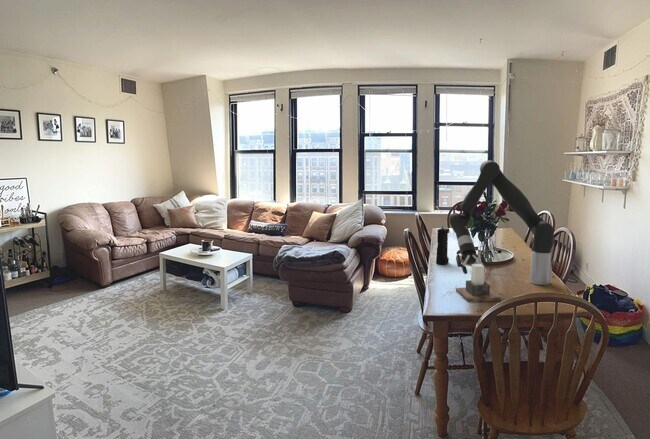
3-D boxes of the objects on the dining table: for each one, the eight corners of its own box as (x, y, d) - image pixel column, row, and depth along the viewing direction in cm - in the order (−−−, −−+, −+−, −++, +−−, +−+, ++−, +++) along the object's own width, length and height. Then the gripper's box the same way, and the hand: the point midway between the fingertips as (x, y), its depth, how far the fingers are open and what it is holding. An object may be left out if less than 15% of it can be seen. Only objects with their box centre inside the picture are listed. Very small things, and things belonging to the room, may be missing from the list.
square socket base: (486, 289, 210) (486, 277, 208) (500, 300, 194) (501, 287, 193) (455, 290, 209) (455, 278, 208) (467, 301, 193) (467, 288, 192)
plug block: (479, 290, 204) (480, 263, 201) (483, 293, 199) (484, 266, 197) (470, 291, 203) (471, 264, 201) (474, 294, 199) (475, 266, 197)
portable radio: (440, 261, 266) (441, 223, 262) (449, 262, 262) (450, 224, 258) (435, 263, 260) (435, 225, 256) (444, 265, 256) (445, 226, 252)
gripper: (454, 242, 210) (462, 270, 200) (482, 241, 210) (491, 269, 201) (451, 250, 216) (458, 277, 207) (477, 249, 217) (486, 276, 207)
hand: (474, 273), depth 204 cm, fingers open, 8 cm apart
